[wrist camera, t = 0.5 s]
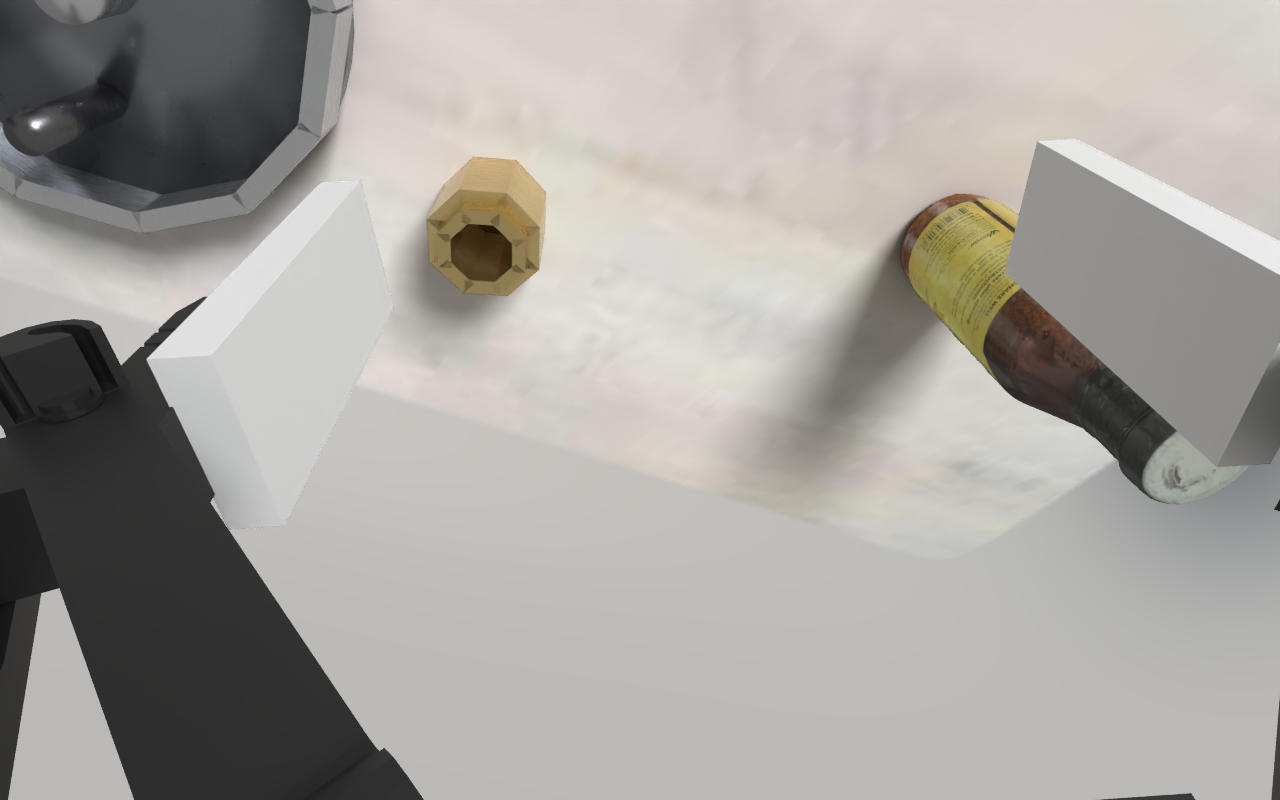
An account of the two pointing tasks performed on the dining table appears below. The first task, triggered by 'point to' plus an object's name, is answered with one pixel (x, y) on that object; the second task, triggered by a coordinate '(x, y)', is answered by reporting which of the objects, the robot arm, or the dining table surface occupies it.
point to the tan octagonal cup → (488, 199)
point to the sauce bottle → (1043, 348)
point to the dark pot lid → (173, 101)
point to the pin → (64, 119)
